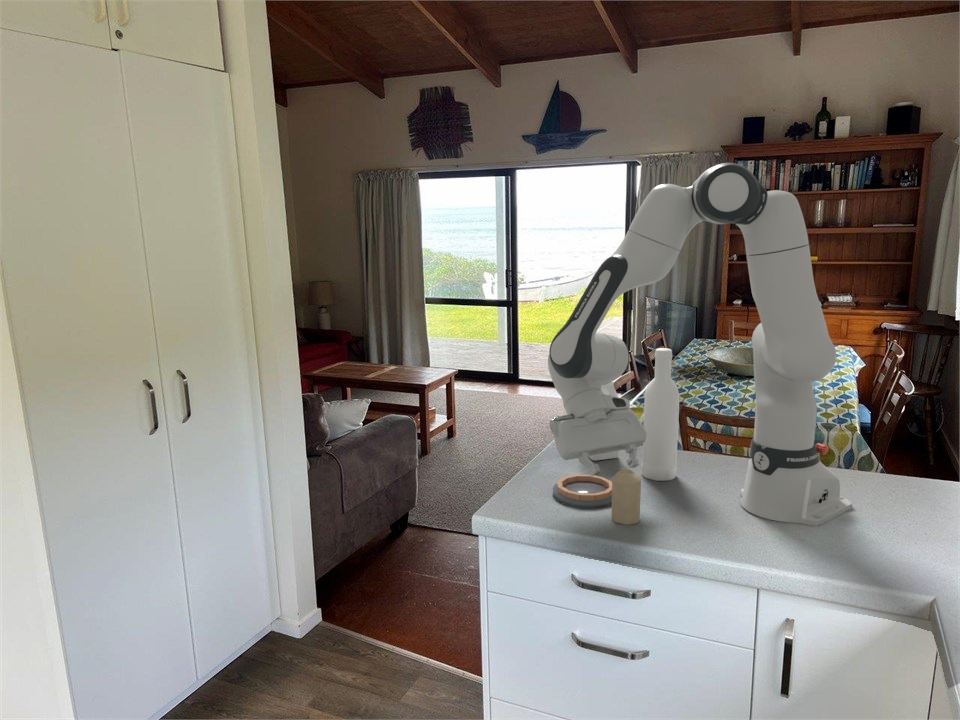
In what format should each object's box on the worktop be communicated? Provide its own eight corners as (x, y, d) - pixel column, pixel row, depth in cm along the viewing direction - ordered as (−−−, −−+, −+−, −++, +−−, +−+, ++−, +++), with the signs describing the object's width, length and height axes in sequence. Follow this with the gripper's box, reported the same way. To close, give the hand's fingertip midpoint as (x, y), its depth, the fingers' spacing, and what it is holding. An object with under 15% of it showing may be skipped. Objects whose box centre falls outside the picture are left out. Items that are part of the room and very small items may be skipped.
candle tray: (593, 479, 154) (593, 469, 153) (631, 500, 141) (631, 489, 141) (541, 489, 148) (541, 479, 147) (576, 512, 135) (576, 501, 135)
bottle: (636, 470, 159) (640, 346, 153) (668, 468, 160) (673, 345, 154) (648, 482, 151) (653, 352, 146) (681, 480, 152) (687, 351, 146)
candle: (640, 526, 129) (641, 477, 127) (611, 524, 130) (612, 475, 128) (639, 514, 134) (640, 467, 132) (611, 512, 135) (612, 466, 133)
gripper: (552, 410, 134) (578, 471, 127) (634, 398, 142) (663, 455, 135) (540, 425, 138) (565, 485, 132) (620, 413, 147) (647, 469, 140)
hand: (615, 470), depth 134 cm, fingers open, 8 cm apart
